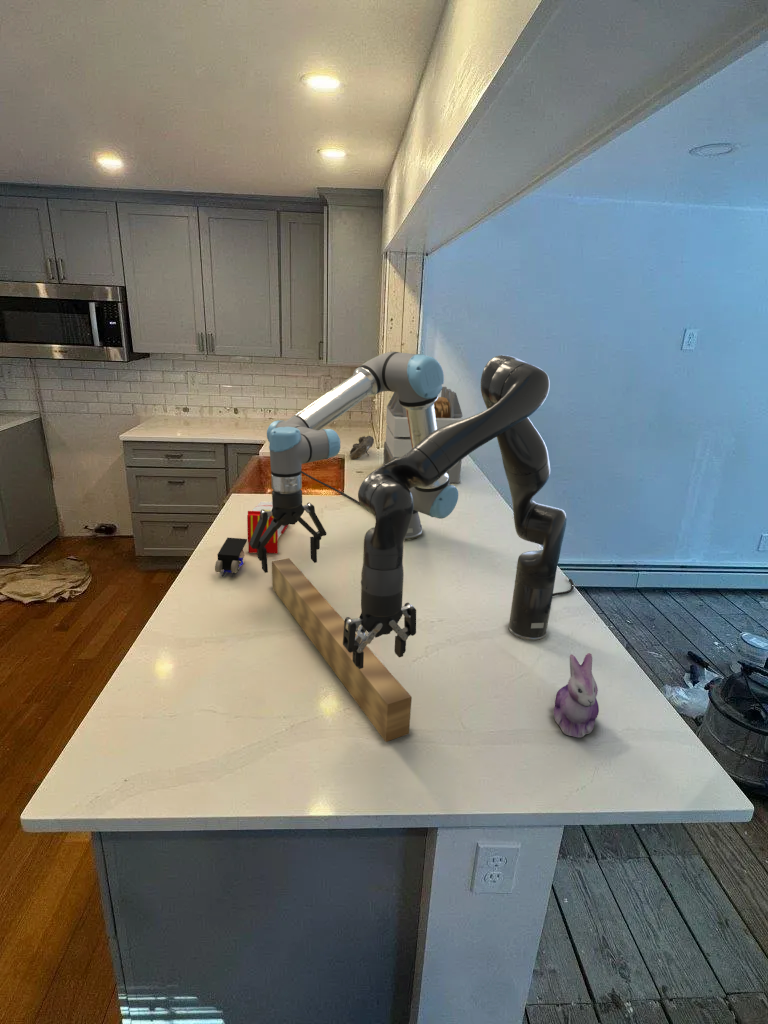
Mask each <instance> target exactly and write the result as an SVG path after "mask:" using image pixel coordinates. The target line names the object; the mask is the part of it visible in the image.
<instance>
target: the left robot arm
mask: <svg viewBox="0 0 768 1024" xmlns="http://www.w3.org/2000/svg"><path fill="white" fill-rule="evenodd" d="M444 383H445V375H444V370H443V367H442V365H441V363H440V362H439V360H437V359H436V358H435V357H433V356H431V355H430V356H429V355H426V354H423V353H407V352H401V351H388V352H384V353H381V354H379V355H377V356H374V357H373V358H371V359H368V360H367V361H366V362H364V363H362V364H361V365H360V366H358V367H356V368H355V369H354V371H353V375H351V376H350V377H348V378H347V379H345V380H344V381H342V382H341V383H339V384H337V385H336V386H335V387H333V388H332V389H330V390H329V391H328V392H326V393H325V394H323V395H322V396H320V397H319V398H317V399H316V400H314V401H313V402H312V403H311V404H309V405H306V407H304V408H302V409H301V410H299V412H297V413H296V414H294V415H293V416H291V417H290V418H288V419H287V420H282V419H281V420H279V419H278V420H274V421H272V422H271V423H270V424H269V426H268V427H267V429H266V439H267V441H268V443H269V445H268V449H269V459H270V461H269V462H270V463H269V464H270V478H271V479H270V483H271V484H270V485H271V490H272V491H271V502H272V505H273V508H272V510H271V511H265V510H261V511H260V519H259V521H258V524H257V526H256V528H255V531H254V533H253V535H252V537H251V540H250V542H249V544H250V546H251V547H252V548H253V549H257V553H256V555H257V559H258V561H260V562H261V570H262V571H263V573H265V574H267V573H268V572H269V569H268V553H267V549H266V548H265V546H266V544H267V543H268V541H269V540H270V539H271V537H272V536H273V535H274V533H275V532H276V530H277V529H279V528H280V527H281V525H283V526H287V525H288V526H289V525H296V524H297V523H299V524H300V525H302V527H304V529H306V530H307V531H308V533H310V534H311V536H310V537H309V545H310V546H309V547H310V550H309V551H310V560H311V561H312V562H313V563H314V564H315V563H318V550H320V549H321V540H322V537H325V536H327V531H326V529H325V527H324V526H323V524H322V522H321V521H320V519H319V517H318V515H317V513H316V508H315V505H314V504H312V503H311V502H307V503H306V504H304V505H303V490H302V487H303V478H302V475H304V476H306V477H308V478H309V479H311V480H313V481H315V482H316V483H319V484H320V485H323V486H325V487H327V488H329V489H330V490H333V491H335V492H337V493H339V494H340V495H342V496H344V497H346V498H348V499H349V500H351V501H352V502H355V503H356V504H358V505H360V506H361V507H362V508H363V506H362V505H361V504H360V502H359V500H358V499H356V498H353V497H352V496H350V495H349V494H346V493H345V492H343V491H340V490H339V489H337V488H335V487H333V486H331V485H329V484H327V483H325V482H323V481H321V480H319V479H317V478H315V477H313V476H311V475H310V474H307V473H306V472H304V471H302V466H303V465H304V464H308V463H312V462H319V461H323V460H328V459H331V458H333V457H336V456H337V455H339V453H340V451H341V439H340V437H339V434H338V433H337V431H335V430H334V429H332V428H326V427H327V426H329V425H330V424H332V423H333V422H334V421H336V420H337V419H338V418H340V417H341V416H343V415H344V414H346V413H347V412H348V411H350V410H352V408H354V407H355V406H357V405H359V403H361V402H363V400H365V399H366V398H368V397H369V398H373V397H375V396H376V395H378V394H380V393H383V392H392V393H394V392H396V393H398V398H399V404H400V405H401V406H403V407H404V408H405V409H406V415H407V421H408V427H409V433H410V439H411V445H412V448H413V447H415V446H416V445H417V444H418V443H419V442H421V441H422V440H423V439H424V438H425V437H427V436H428V435H429V434H431V433H432V432H434V431H435V430H437V424H436V417H435V409H434V403H435V401H436V400H437V399H438V397H439V395H440V394H441V392H442V388H443V387H444V386H443V385H444ZM409 490H410V492H411V494H412V498H413V505H414V507H413V515H412V518H411V522H410V525H409V528H408V531H407V534H406V537H405V539H404V541H410V540H415V539H418V538H420V537H421V536H422V535H423V525H422V524H421V518H420V515H419V513H421V514H423V515H426V516H428V517H431V518H436V519H438V520H439V519H440V520H442V519H445V518H447V517H448V516H450V515H451V514H452V513H453V511H454V510H455V508H456V506H457V503H458V501H459V489H458V488H457V487H456V486H455V485H453V484H451V483H449V476H448V474H447V473H445V474H444V475H443V476H442V477H441V478H440V479H438V480H437V481H436V482H435V483H434V484H432V485H431V486H429V487H413V488H411V489H409ZM304 512H306V513H307V514H308V515H309V517H310V519H311V520H312V523H313V524H314V526H315V527H316V529H317V531H316V530H315V529H314V528H313V527H311V525H310V524H309V523H308V522H307V521H305V519H304V518H302V515H304ZM270 516H273V517H274V519H273V520H272V521H271V524H270V526H269V527H268V528H267V530H266V531H265V532H264V534H263V535H262V533H263V531H264V529H265V526H266V524H267V520H269V518H270ZM288 526H287V527H288ZM261 535H262V536H261Z"/></svg>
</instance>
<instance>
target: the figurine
mask: <svg viewBox="0 0 768 1024" xmlns="http://www.w3.org/2000/svg"><path fill="white" fill-rule="evenodd" d="M569 670H570V671H569V673H570V677H569V679H568V682H567V684H566V685H564V686H562V687H561V688H559V690H557V691H556V695H555V698H554V707H553V717H554V722H555V723H556V725H558V726H559V727H560V729H561V731H562V733H563V734H564V735H566V736H569V737H574V738H584V736H585V735H588V734H589V735H590V734H591V733H592V732H593V729H594V727H595V723H596V720H597V718H598V716H599V711H600V708H599V702H598V699H597V696H598V692H599V689H598V685H597V682H596V680H595V677H594V675H593V653H591V652H588V653H586V654H585V656H584V658H583V661H582V663H581V664H580V662H579V661H578V658H577V656H575V655H574V654H570V655H569Z"/></svg>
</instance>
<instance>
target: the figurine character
mask: <svg viewBox="0 0 768 1024" xmlns="http://www.w3.org/2000/svg"><path fill="white" fill-rule="evenodd" d="M247 543H248V538H240V537H226V539H225V541H224V543H223V544H222V546H221V547H220V549H219V551H218V552H217V560H216V562H215V564H214V572H215V573H221V577H222V578H224V577H225V576H226V574H227V573H230V574H231V573H232V574H231V578H234V577H235V575H236V573H237V572H239V571H240V567H242V566H243V565H244V564H245V562H244V558H245V551H244V547H245V546H246V544H247Z"/></svg>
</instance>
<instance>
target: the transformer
mask: <svg viewBox="0 0 768 1024" xmlns="http://www.w3.org/2000/svg"><path fill="white" fill-rule="evenodd" d="M442 387H443V388H442V390H441V392H440V396H438V399H437V400H436V401H435V403H434V409H435V417H436V424H437V429H439V428H441V427H443V426H445V425H448V424H450V423H453V422H456V421H459V420H463V419H464V418H463V411H462V408H461V405H460V402H459V398H458V395H457V392H455V391H453V390H452V389H451V388H447V386H442ZM385 414H386V415H385V423H386V428H385V438H384V442H383V464H382V465H383V466H384V465H385V464H387V463H389V462H391V461H393V460H395V459H397V458H399V457H401V456H403V455H405V454H407V453H408V452H409V451H410V450H411V449H412V445H411V439H410V433H409V427H408V421H407V415H406V409H405V408H404V407H403V406H401V405H400V404H399V398H398V393H396V392H393V394H392V395H391V398H390V400H389V402H388V404H387V405H386V413H385ZM462 461H463V459H462V460H461V461H459V462H458V463H457V464H456V465H455V466H454V467H452V468H451V469H450V470H449V471H448V472H447V474H448V476H449V483H450V484H455V483H456V484H459V483H461V472H462Z"/></svg>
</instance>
